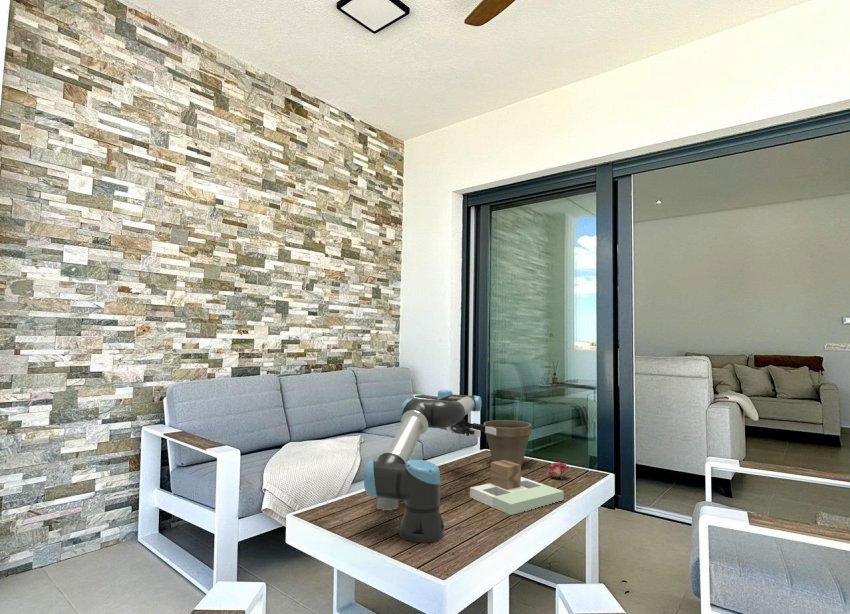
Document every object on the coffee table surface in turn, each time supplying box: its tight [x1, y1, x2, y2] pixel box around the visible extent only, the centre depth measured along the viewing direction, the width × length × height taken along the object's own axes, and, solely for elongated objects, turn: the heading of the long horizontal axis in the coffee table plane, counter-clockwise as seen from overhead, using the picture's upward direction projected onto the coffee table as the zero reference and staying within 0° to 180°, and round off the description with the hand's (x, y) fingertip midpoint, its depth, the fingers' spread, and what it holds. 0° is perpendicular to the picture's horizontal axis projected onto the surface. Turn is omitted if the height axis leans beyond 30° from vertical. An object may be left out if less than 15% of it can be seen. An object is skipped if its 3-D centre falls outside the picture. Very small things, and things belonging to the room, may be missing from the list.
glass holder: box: [376, 498, 399, 509], centre depth 190 cm, size 9×14×15 cm, turn 104°
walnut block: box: [489, 460, 522, 490], centre depth 206 cm, size 8×10×9 cm
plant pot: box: [483, 419, 532, 467], centre depth 254 cm, size 25×25×22 cm
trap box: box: [469, 476, 565, 516], centre depth 200 cm, size 30×24×4 cm
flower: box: [547, 461, 568, 480], centre depth 231 cm, size 10×9×8 cm
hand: (487, 432), depth 216 cm, fingers open, 9 cm apart
